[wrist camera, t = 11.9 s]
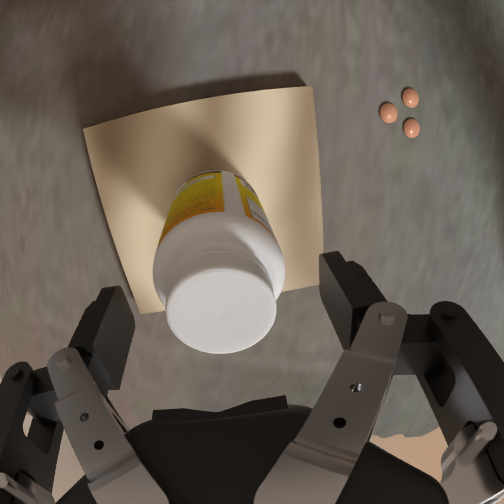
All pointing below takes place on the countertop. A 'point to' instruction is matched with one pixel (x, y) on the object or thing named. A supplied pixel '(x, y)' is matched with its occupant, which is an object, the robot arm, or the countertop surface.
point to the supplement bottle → (218, 264)
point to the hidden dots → (390, 113)
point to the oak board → (205, 159)
